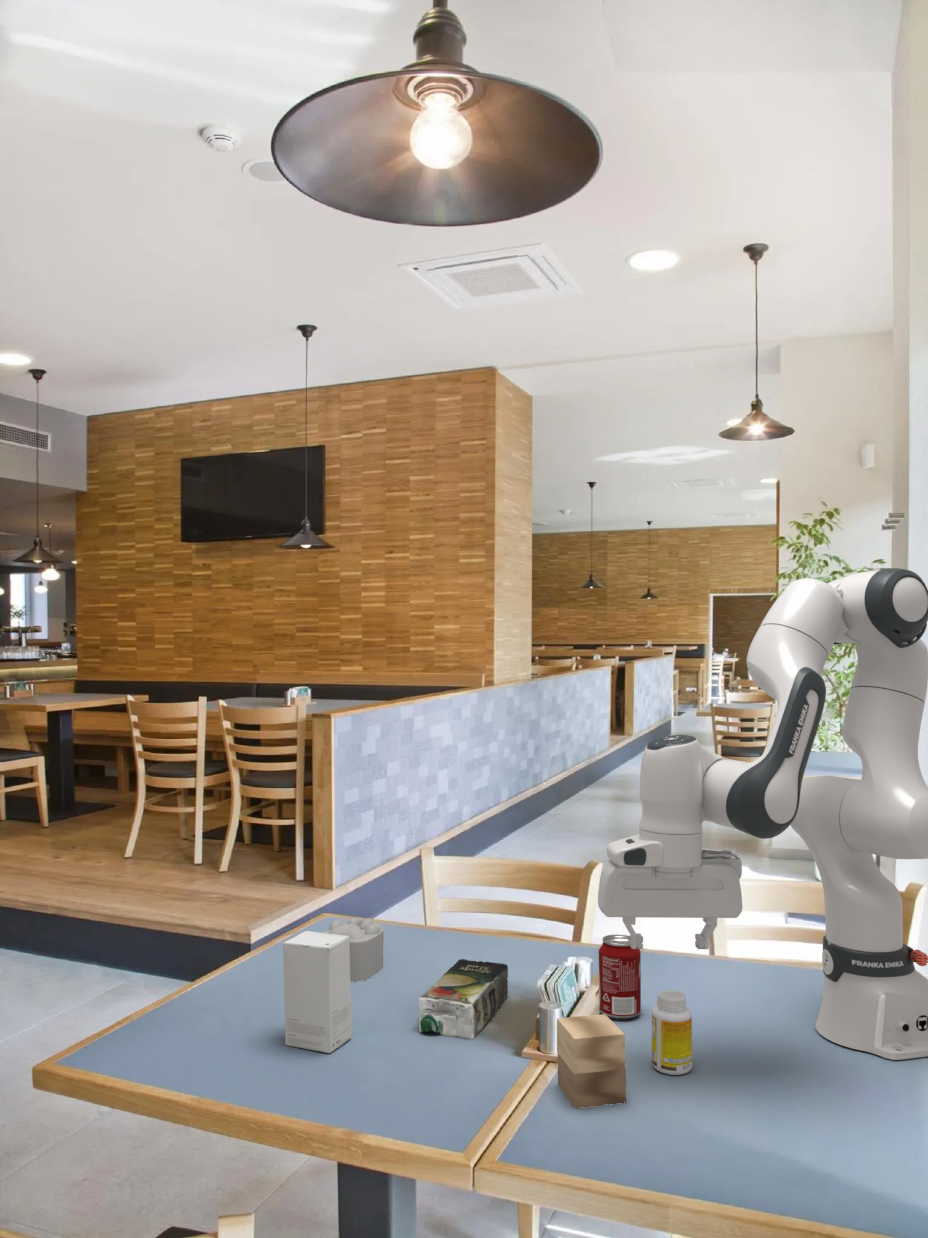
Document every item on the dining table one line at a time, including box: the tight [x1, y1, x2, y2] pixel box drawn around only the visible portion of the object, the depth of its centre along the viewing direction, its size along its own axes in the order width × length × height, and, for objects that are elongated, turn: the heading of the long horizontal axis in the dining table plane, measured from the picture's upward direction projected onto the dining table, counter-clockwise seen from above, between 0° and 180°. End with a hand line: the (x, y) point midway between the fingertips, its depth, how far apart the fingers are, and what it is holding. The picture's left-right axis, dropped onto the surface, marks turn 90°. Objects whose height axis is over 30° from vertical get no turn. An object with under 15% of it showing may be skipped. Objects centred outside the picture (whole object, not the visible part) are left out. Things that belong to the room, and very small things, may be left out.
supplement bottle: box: [651, 989, 693, 1076], centre depth 133 cm, size 6×6×10 cm
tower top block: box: [556, 1013, 626, 1074], centre depth 125 cm, size 7×7×4 cm
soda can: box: [598, 933, 642, 1021], centre depth 153 cm, size 7×7×12 cm
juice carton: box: [417, 958, 509, 1040], centre depth 153 cm, size 20×10×6 cm, turn 162°
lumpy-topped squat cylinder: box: [322, 916, 384, 983], centre depth 174 cm, size 10×13×9 cm
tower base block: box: [557, 1053, 627, 1110], centre depth 125 cm, size 7×7×4 cm
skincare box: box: [282, 930, 353, 1054], centre depth 141 cm, size 8×7×16 cm
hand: (669, 948), depth 133 cm, fingers open, 8 cm apart
